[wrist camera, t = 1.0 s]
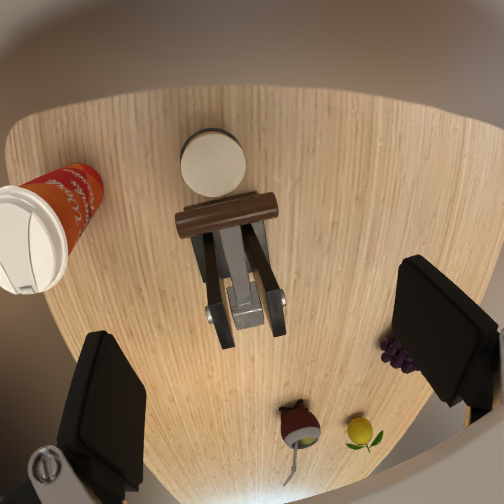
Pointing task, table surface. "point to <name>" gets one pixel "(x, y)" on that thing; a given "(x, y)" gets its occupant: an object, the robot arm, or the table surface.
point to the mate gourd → (298, 429)
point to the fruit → (397, 355)
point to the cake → (212, 162)
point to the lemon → (361, 433)
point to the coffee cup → (44, 226)
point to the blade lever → (233, 247)
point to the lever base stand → (217, 269)
